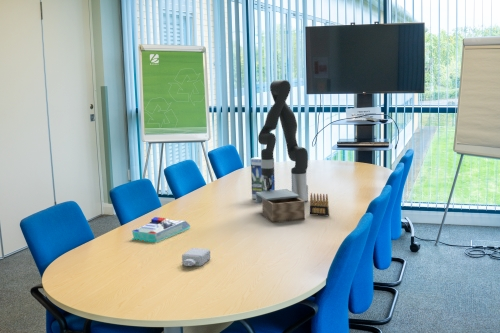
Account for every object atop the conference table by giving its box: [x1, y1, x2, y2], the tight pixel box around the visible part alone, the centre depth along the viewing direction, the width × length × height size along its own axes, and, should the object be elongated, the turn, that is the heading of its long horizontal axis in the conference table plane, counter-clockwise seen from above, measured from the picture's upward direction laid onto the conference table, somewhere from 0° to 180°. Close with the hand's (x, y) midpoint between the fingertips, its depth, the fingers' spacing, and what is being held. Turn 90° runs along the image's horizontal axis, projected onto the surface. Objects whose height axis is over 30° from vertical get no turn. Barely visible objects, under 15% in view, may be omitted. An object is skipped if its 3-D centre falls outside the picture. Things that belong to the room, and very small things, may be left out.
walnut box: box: [261, 197, 306, 224], centre depth 315 cm, size 18×18×10 cm
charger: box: [181, 247, 211, 267], centre depth 243 cm, size 5×9×15 cm
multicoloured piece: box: [131, 216, 191, 243], centre depth 292 cm, size 17×30×9 cm, turn 151°
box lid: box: [255, 188, 299, 204], centre depth 324 cm, size 19×20×6 cm
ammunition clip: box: [309, 192, 330, 216], centre depth 317 cm, size 11×2×12 cm, turn 65°
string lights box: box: [250, 156, 276, 200], centre depth 364 cm, size 13×8×26 cm, turn 62°
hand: (268, 196), depth 338 cm, fingers closed
